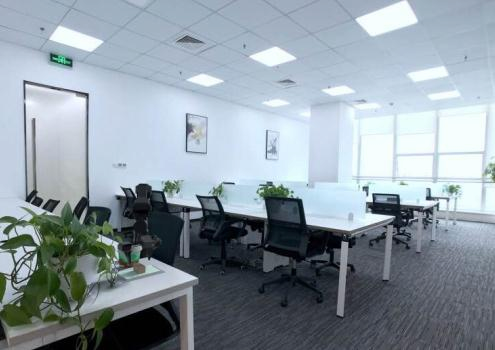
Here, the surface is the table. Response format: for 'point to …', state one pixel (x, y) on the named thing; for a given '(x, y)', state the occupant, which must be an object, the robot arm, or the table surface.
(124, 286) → the table surface
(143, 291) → the table surface
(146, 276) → the mat
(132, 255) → the food container
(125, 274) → the lid
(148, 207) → the robot arm
